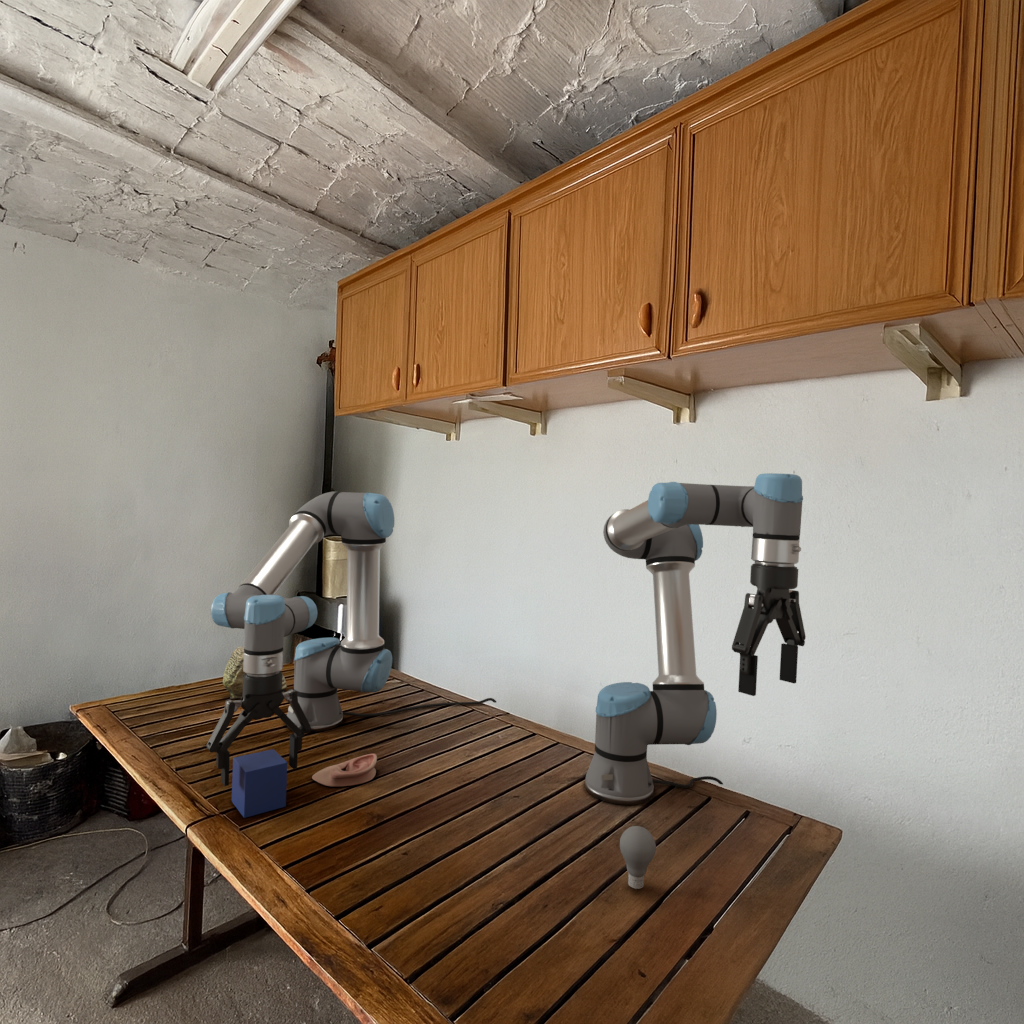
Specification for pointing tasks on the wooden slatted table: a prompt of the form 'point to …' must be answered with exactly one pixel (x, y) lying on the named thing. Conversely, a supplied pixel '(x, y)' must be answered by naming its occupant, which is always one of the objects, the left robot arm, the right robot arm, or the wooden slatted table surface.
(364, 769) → the anatomical model
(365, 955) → the wooden slatted table surface
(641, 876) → the light bulb
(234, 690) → the fossil
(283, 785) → the block
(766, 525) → the right robot arm
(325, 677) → the left robot arm
